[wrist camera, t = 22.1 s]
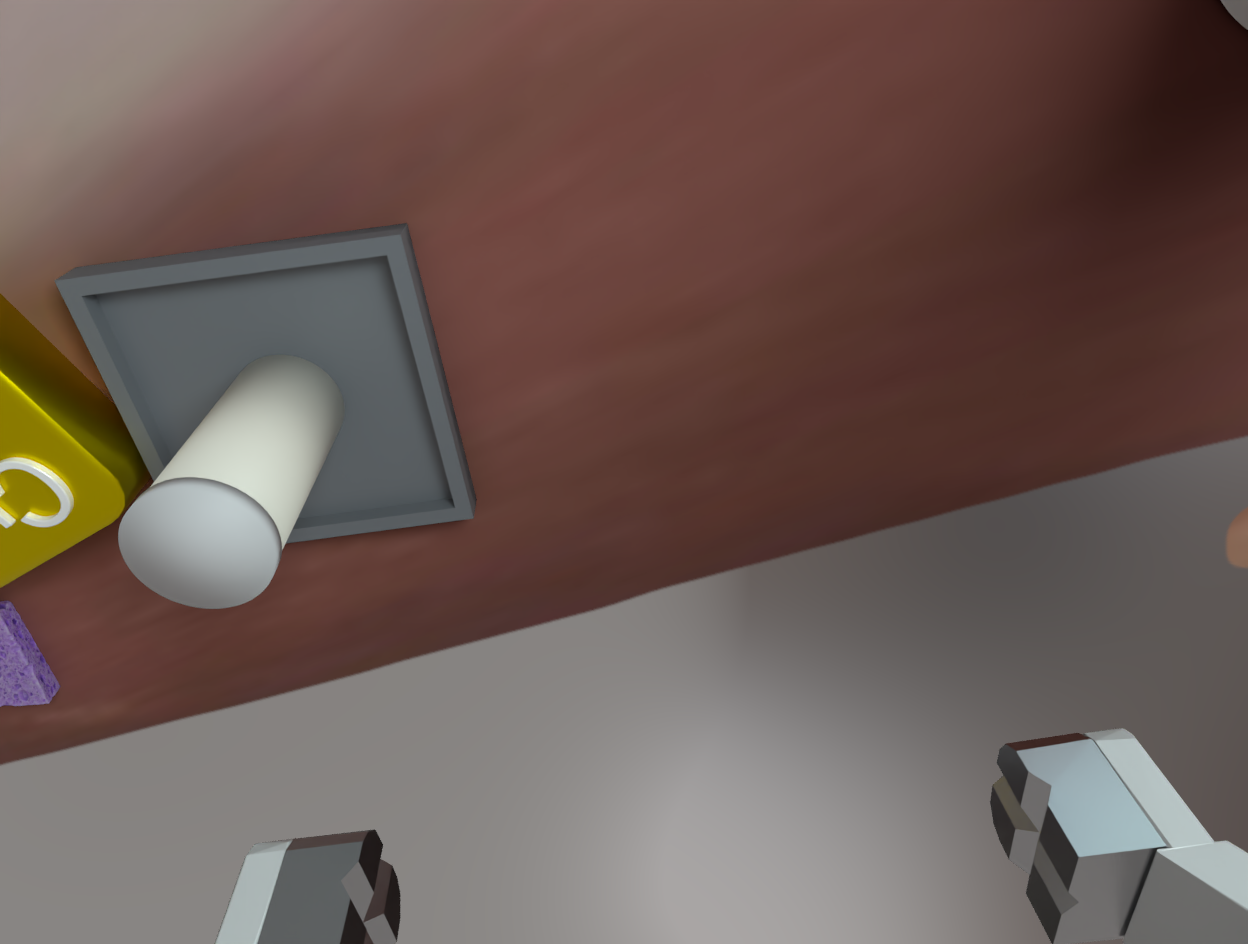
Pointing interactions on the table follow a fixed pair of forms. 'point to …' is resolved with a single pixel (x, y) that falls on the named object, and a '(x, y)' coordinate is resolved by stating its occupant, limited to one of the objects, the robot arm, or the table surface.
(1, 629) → the sponges
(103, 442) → the element tile
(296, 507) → the tin
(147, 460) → the tray
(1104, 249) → the table surface
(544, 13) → the table surface
